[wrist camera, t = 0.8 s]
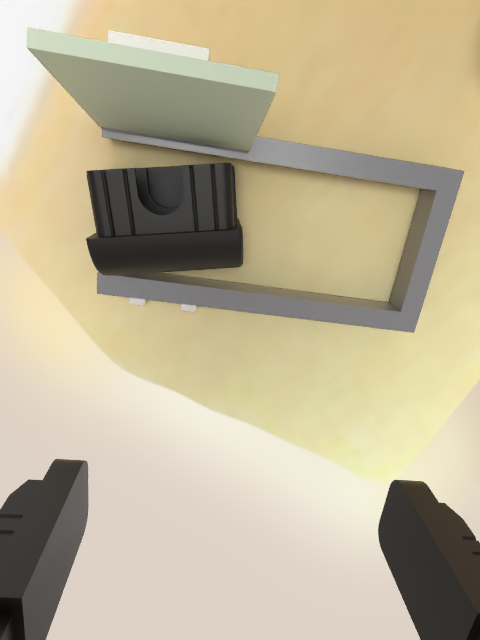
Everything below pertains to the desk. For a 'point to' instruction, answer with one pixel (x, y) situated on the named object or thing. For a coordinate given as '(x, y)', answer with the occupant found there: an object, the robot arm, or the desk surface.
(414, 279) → the grey frame
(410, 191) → the desk surface
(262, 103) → the lid
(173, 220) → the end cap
